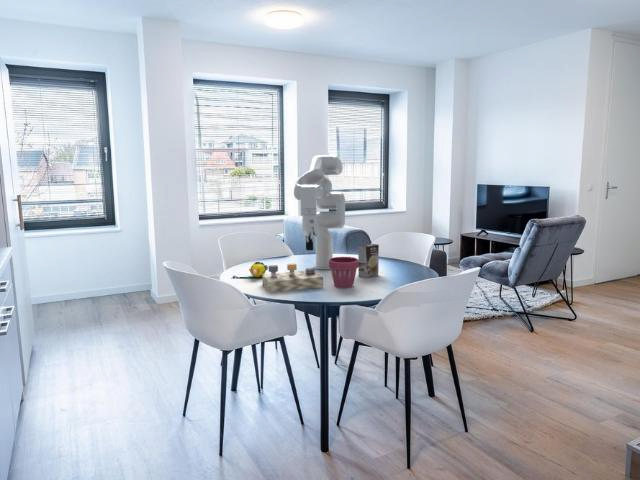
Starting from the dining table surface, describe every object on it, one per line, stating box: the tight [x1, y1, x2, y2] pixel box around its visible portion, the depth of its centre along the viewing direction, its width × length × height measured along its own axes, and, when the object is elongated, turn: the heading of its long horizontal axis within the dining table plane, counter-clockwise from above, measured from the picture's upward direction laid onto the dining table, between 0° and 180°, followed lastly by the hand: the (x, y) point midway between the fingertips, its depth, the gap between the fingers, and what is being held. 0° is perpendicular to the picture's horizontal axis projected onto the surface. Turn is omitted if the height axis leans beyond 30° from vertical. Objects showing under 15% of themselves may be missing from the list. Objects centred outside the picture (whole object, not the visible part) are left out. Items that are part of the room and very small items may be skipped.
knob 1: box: [268, 264, 279, 278], centre depth 225 cm, size 4×4×6 cm
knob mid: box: [286, 263, 298, 277], centre depth 228 cm, size 4×4×6 cm
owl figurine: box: [232, 261, 269, 279], centre depth 250 cm, size 28×9×15 cm
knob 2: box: [305, 267, 316, 275], centre depth 231 cm, size 4×4×6 cm
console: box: [261, 270, 324, 293], centre depth 229 cm, size 26×16×5 cm, turn 107°
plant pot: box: [329, 256, 359, 289], centre depth 226 cm, size 14×14×13 cm
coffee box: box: [357, 243, 380, 279], centre depth 246 cm, size 9×6×16 cm
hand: (309, 249), depth 229 cm, fingers closed
